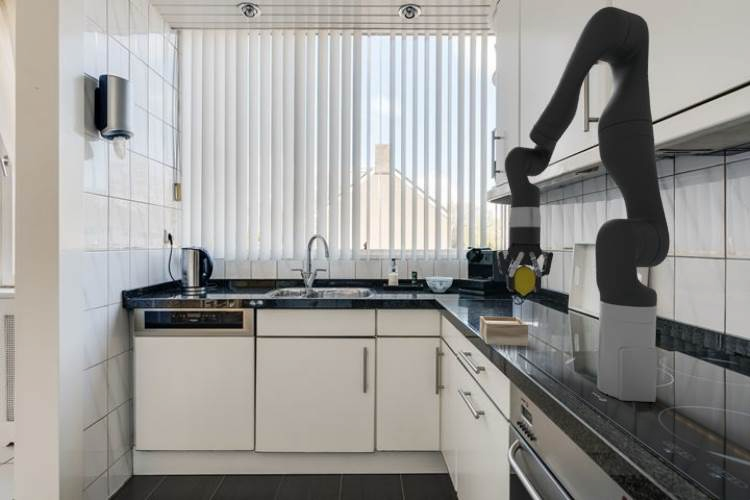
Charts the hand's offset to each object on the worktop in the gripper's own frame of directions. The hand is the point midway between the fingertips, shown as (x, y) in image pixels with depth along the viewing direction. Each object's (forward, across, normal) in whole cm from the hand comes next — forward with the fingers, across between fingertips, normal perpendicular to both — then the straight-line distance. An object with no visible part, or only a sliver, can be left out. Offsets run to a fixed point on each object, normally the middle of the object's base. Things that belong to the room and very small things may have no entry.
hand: (523, 291), depth 103 cm
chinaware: (+14, -12, +122) cm, 123 cm away
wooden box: (+16, -2, +13) cm, 21 cm away
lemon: (+1, 0, 0) cm, 1 cm away
